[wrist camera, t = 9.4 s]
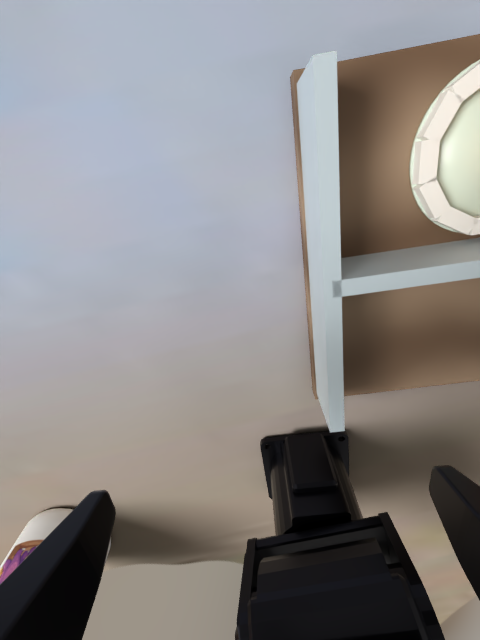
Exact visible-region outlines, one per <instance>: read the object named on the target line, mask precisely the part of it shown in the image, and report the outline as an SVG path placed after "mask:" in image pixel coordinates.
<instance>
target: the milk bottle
mask: <svg viewBox="0 0 480 640" xmlns="http://www.w3.org/2000/svg"><path fill="white" fill-rule="evenodd" d="M72 511H73V509H64V508H57V509H50V510H45V511H43V512H41V513H39V514H38V515H36V516H35V517H34V518H32V519H31V520H30V521H29V522H28V524H27V525H26V527H25V528H24V530H23V531H22V533H21V534H20V536H19V537H18V539H17V541H16V542H15V544H14V545H13V547H12V548H11V550H10V552H9V553H8V555H7V556H6V558H5V560H4V561H3V563H2V564H1V566H0V584H1V583H2V582H3V581H4V580H5V579H6V578H7V577H8V576H9V575H10V574H11V573H12V572H13V571H14V570H15V569H16V568H17V567H18V566H19V565H20V564H21V563H22V562H23V561H24V560H25V559H26V557H27V556H28V555H29V554H30V553H31V552H32V551H33V550H34V549H35V548H36V547H37V546H38V545H39V544H40V543H41V542H42V541H43V540H44V539H45V538H46V537H47V536H48V535H49V534H50V533H51V532H52V531H53V530H54V529H55V528H56V527H57V526H58V525H59V524H60V523H61V522H62V521H63V520H64V519H65V518H66V517H67V516H68V515H69V514H70V513H71V512H72ZM110 547H111V538H110V542H109V547H108V551H107V556H106V560H107V557H108V554H109V551H110ZM106 560H105V563H106ZM104 566H105V564H104Z"/></svg>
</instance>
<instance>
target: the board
mask: <svg viewBox="0 0 480 640" xmlns="http://www.w3.org/2000/svg"><path fill="white" fill-rule="evenodd" d="M290 81H291V95H292V109H293V123H294V137H295V151H296V165H297V179H298V193H299V207H300V221H301V235H302V249H303V263H304V277H305V291H306V305H307V319H308V332H309V346H310V360H311V374H312V388H313V393H314V396H315V399H319V401H320V404H321V407H322V410H323V413H324V416H325V419H326V422H327V425H328V428H329V431H330V433H331V432H340V431H345V430H344V396H350V395H358V394H367V393H376V392H384V391H393V390H401V389H410V388H419V387H427V386H436V385H445V384H453V383H462V382H470V381H479V380H480V34H478V35H473V36H468V37H462V38H457V39H452V40H447V41H442V42H437V43H432V44H426V45H421V46H416V47H411V48H406V49H401V50H396V51H391V52H385V53H380V54H375V55H370V56H365V57H360V58H355V59H349V60H344V61H339V62H337V50H336V51H331V52H326V53H321V54H316V55H313V56H312V57H311V59H310V61H309V63H308V65H307V66H306V68H303V69H298V70H293V72H292V75H291V77H290Z"/></svg>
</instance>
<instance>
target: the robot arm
mask: <svg viewBox="0 0 480 640" xmlns="http://www.w3.org/2000/svg"><path fill="white" fill-rule="evenodd" d="M341 436H342V437H341ZM266 444H269V445H266ZM260 446H261V453H262V458H263V464H264V470H265V476H266V481H267V487H268V493H269V497H270V498H271V499H273V510H274V521H275V532H276V536H271V537H266V538H261V539H257V538H252V539H248V542H247V550H246V553H245V557H244V566H243V574H242V582H241V591H240V598H239V599H240V600H239V607H238V615H237V628H236V632H235V640H445V638H444V635H443V633H442V630H441V627H440V624H439V622H438V619H437V617H436V614H435V612H434V609H433V607H432V604H431V602H430V600H429V597H428V595H427V593H426V590H425V588H424V586H423V583H422V581H421V579H420V577H419V575H418V573H417V571H416V569H415V567H414V565H413V563H412V561H411V559H410V557H409V555H408V553H407V551H406V549H405V547H404V545H403V543H402V541H401V539H400V537H399V535H398V533H397V531H396V529H395V527H394V525H393V523H392V520H391V518H390V516H389V514H388V513H387V512H384V513H379V514H378V516H373V517H368V518H363V517H362V514H361V511H360V508H359V505H358V502H357V500H356V497H355V494H354V491H353V488H352V485H351V483H350V480H349V447H348V436H347V433H346V432H345V431H340V432H331V433H330V431H324V432H315V433H306V434H297V435H287V436H278V437H269V438H264V439H262V440H261V442H260ZM429 491H430V495H431V498H432V500H433V503H434V505H435V507H436V510H437V512H438V514H439V517H440V519H441V521H442V524H443V526H444V528H445V531H446V533H447V535H448V538H449V540H450V542H451V545H452V547H453V549H454V551H455V554H456V556H457V558H458V560H459V562H460V564H461V566H462V568H463V570H464V572H465V574H466V576H467V578H468V580H469V581H470V583H471V585H472V587H473V589H474V591H475V593H476V594H477V596H478V598H479V600H480V486H478V485H477V484H476V483H474V482H473V481H472V480H470V479H469V478H467V477H466V476H465V475H463V474H462V473H460V472H459V471H458V470H456V469H455V468H453V467H452V466H449V465H444V466H435V467H434V468H433V469H432V474H431V479H430V484H429ZM115 514H116V512H115V507H114V505H113V502H112V500H111V498H110V495H109V493H108V492H107V491H106V490H99V491H93V492H91V493H89V494H88V495H87V496H86V497H85V498H84V499H83V500H82V501H81V503H80V504H79V505H78V506H77V507H76V508H75V509H74V510H73V511H72V512H71V513H70V514H69V515H68V516H67V517H66V518H65V519H64V520H63V521H62V522H61V523H60V524H59V525H58V526H57V527H56V528H55V529H54V530H53V531H52V532H51V533H50V534H49V535H48V536H47V537H46V538H45V539H44V540H43V541H42V542H41V543H40V544H39V545H38V546H37V547H36V548H35V549H34V550H33V551H32V552H31V553H30V554H29V555H28V556H27V557H26V559H25V560H24V561H23V562H22V563H21V564H20V565H19V566H18V567H17V568H16V569H15V570H14V571H13V572H12V573H11V574H10V575H9V576H8V577H7V578H6V579H5V580H4V581H3V582H2V583H1V584H0V640H82V637H83V634H84V631H85V628H86V625H87V622H88V619H89V616H90V612H91V609H92V606H93V603H94V600H95V597H96V594H97V591H98V587H99V584H100V581H101V577H102V573H103V569H104V564H105V560H106V556H107V551H108V547H109V542H110V538H111V534H112V529H113V525H114V520H115Z"/></svg>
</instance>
